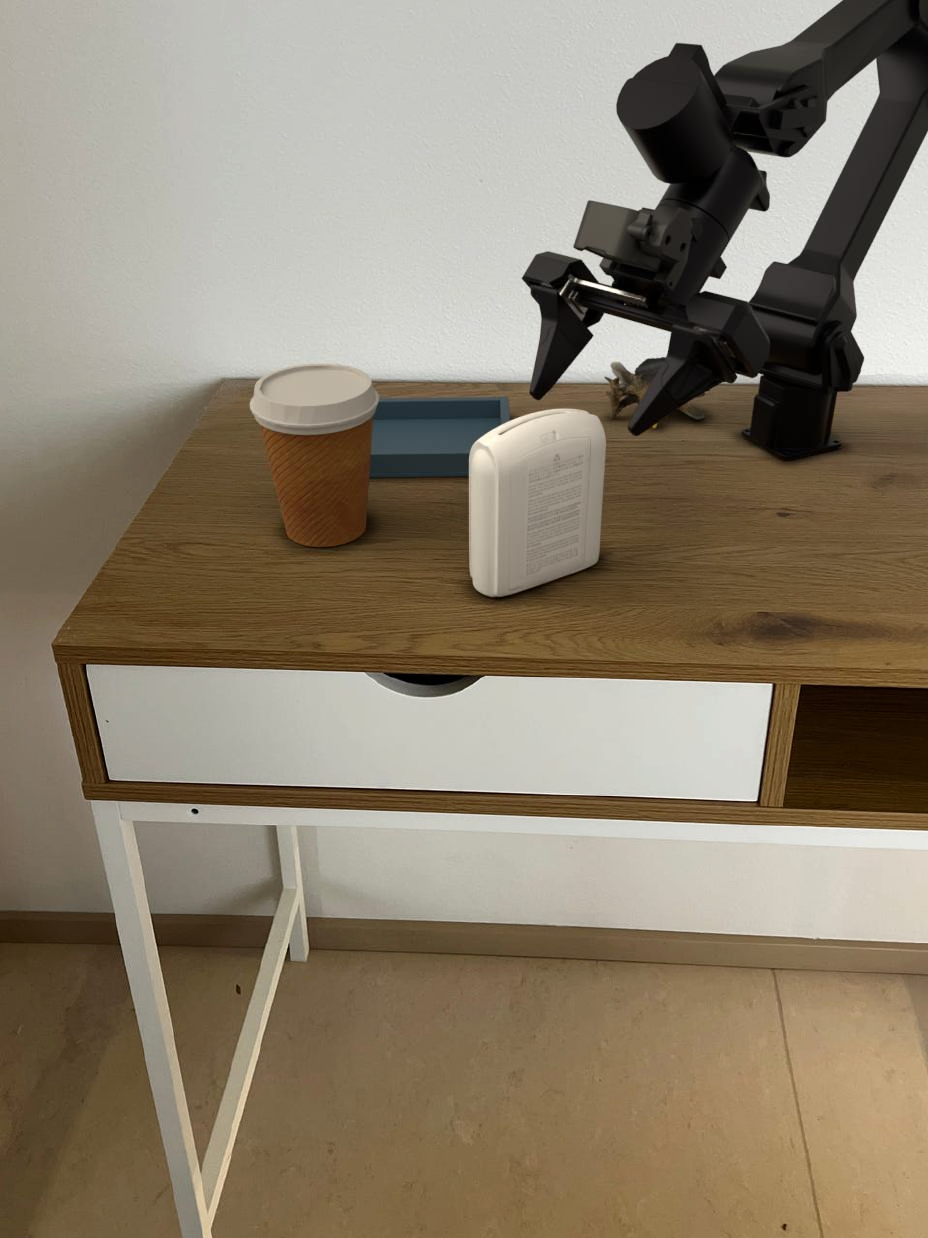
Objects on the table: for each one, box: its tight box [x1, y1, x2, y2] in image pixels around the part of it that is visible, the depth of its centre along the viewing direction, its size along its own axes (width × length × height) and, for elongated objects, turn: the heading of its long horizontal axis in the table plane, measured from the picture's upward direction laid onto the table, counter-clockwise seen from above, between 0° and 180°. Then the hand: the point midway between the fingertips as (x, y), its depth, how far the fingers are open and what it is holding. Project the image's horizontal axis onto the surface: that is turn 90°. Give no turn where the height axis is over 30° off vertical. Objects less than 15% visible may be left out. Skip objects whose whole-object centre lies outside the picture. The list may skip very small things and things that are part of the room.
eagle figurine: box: [604, 356, 710, 429], centre depth 106 cm, size 8×7×9 cm
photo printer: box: [468, 408, 607, 598], centre depth 81 cm, size 10×4×12 cm, turn 123°
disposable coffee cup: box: [249, 363, 380, 548], centre depth 87 cm, size 10×10×12 cm
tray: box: [369, 396, 511, 479], centre depth 103 cm, size 18×13×2 cm
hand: (581, 414), depth 80 cm, fingers open, 9 cm apart
